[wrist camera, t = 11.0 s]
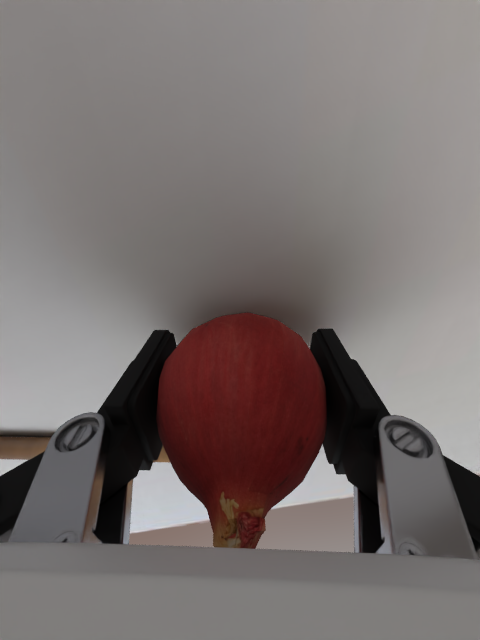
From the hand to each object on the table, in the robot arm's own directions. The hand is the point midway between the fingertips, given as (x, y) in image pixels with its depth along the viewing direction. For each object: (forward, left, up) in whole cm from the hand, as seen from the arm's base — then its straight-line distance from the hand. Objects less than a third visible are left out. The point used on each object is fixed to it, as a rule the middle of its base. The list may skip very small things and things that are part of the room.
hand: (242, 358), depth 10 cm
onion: (0, 0, -2) cm, 2 cm away
